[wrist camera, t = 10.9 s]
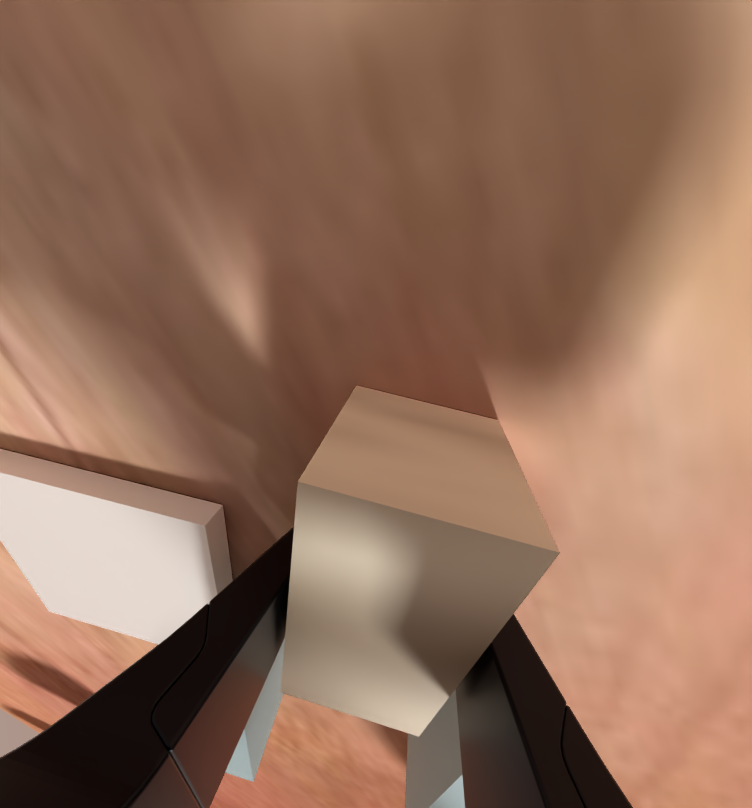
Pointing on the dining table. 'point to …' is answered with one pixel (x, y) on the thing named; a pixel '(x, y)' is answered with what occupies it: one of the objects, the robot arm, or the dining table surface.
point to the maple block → (405, 557)
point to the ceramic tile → (111, 546)
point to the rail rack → (426, 755)
